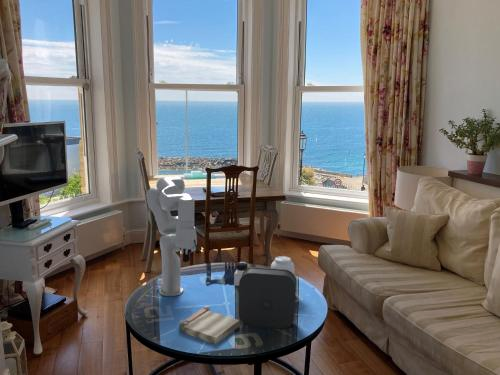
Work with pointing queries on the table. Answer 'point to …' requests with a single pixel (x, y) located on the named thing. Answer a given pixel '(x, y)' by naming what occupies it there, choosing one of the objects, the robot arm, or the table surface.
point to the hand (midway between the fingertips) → (186, 261)
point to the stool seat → (210, 327)
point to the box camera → (239, 272)
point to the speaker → (267, 297)
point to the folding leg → (198, 314)
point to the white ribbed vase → (283, 264)
